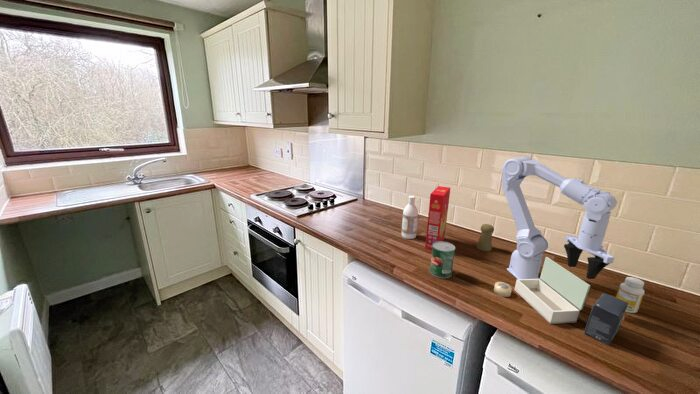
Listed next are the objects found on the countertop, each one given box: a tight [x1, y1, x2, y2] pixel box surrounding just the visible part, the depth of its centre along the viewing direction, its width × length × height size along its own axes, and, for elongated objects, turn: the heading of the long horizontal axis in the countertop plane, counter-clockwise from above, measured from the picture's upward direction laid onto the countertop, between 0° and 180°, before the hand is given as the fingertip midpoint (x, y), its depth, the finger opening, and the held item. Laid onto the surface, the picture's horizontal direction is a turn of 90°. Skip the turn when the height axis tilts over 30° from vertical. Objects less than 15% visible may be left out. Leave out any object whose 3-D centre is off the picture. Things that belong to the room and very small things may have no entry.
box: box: [583, 292, 628, 346], centre depth 76 cm, size 9×6×10 cm, turn 126°
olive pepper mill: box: [476, 223, 495, 252], centre depth 123 cm, size 6×6×11 cm
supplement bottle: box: [615, 276, 645, 314], centre depth 86 cm, size 5×5×10 cm
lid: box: [539, 256, 591, 311], centre depth 87 cm, size 16×8×1 cm
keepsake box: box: [513, 278, 580, 325], centre depth 88 cm, size 16×8×4 cm, turn 5°
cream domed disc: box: [493, 281, 513, 298], centre depth 94 cm, size 5×5×2 cm
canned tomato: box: [429, 240, 456, 279], centre depth 104 cm, size 8×8×11 cm
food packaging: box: [424, 185, 451, 251], centre depth 125 cm, size 15×5×25 cm, turn 151°
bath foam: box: [401, 195, 419, 240], centre depth 133 cm, size 7×7×20 cm
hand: (580, 272), depth 89 cm, fingers open, 6 cm apart
